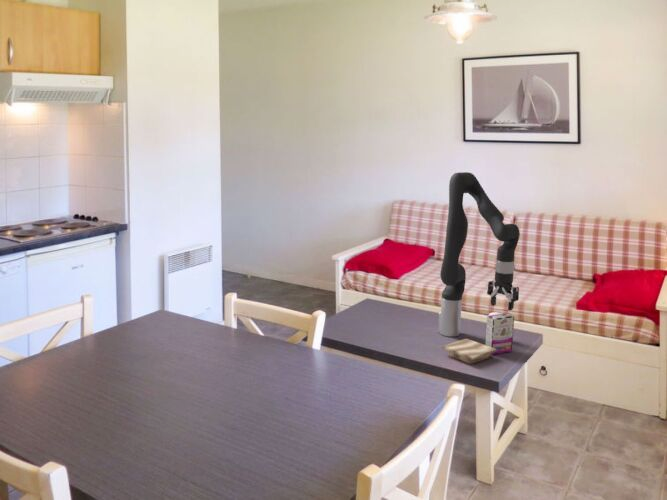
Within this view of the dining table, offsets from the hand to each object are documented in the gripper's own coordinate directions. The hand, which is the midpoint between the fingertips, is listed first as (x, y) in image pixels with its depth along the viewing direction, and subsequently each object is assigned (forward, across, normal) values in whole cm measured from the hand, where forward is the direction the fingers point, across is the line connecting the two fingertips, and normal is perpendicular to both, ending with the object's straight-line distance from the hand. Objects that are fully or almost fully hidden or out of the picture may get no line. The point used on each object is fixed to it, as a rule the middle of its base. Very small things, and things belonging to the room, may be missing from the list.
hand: (501, 307), depth 279 cm
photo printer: (+20, +10, -13) cm, 26 cm away
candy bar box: (+20, 0, 0) cm, 20 cm away
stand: (+20, +4, +15) cm, 25 cm away
